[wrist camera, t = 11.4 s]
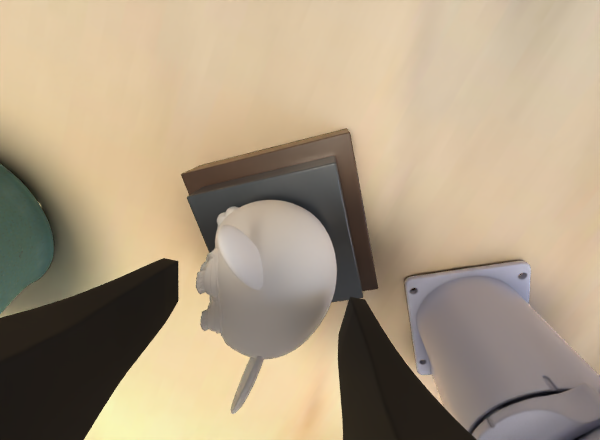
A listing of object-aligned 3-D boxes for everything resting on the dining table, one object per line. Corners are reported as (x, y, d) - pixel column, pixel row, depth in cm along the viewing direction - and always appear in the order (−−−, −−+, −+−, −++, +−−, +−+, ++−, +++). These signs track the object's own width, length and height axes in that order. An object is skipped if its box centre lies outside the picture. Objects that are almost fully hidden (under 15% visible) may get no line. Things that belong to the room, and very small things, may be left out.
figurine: (215, 175, 14) (127, 228, 8) (343, 184, 13) (353, 247, 7) (225, 303, 17) (167, 412, 11) (329, 314, 17) (329, 434, 11)
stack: (372, 268, 20) (383, 310, 16) (245, 288, 22) (225, 330, 18) (347, 128, 17) (352, 135, 13) (199, 165, 19) (161, 182, 14)
